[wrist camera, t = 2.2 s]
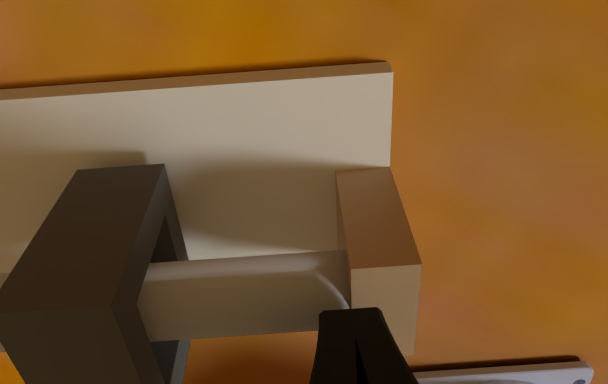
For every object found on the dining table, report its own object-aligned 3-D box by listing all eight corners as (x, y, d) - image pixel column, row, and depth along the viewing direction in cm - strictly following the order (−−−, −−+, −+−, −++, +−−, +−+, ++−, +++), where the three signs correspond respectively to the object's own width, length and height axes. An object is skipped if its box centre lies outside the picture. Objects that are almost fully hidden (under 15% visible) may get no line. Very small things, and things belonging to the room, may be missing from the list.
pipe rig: (388, 61, 14) (434, 154, 10) (380, 294, 19) (408, 422, 15) (-405, 118, 14) (-703, 234, 10) (-202, 334, 19) (-340, 472, 15)
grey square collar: (164, 163, 14) (110, 305, 9) (198, 297, 17) (169, 453, 12) (76, 169, 14) (-17, 314, 9) (126, 302, 17) (72, 459, 12)
